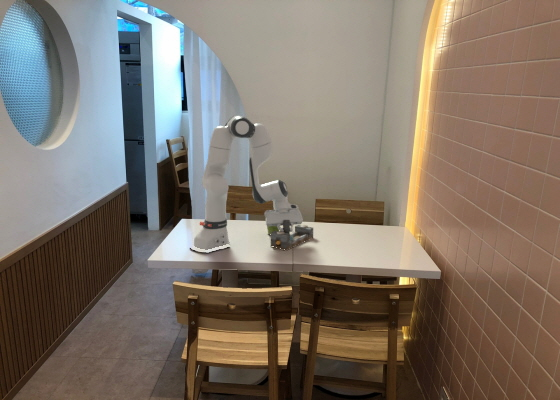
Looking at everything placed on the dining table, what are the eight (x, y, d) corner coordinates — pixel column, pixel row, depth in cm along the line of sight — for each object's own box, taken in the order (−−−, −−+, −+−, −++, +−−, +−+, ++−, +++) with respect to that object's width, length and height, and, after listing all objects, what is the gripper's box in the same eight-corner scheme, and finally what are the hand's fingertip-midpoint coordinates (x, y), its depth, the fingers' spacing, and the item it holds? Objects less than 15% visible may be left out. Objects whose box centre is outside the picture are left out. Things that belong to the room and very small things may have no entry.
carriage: (286, 244, 245) (287, 222, 242) (279, 242, 247) (279, 221, 245) (293, 241, 249) (293, 220, 246) (285, 239, 252) (285, 218, 249)
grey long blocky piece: (285, 250, 240) (286, 235, 238) (270, 246, 246) (270, 231, 244) (313, 237, 261) (313, 223, 259) (298, 234, 267) (298, 220, 265)
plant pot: (281, 236, 263) (281, 222, 261) (264, 236, 263) (264, 222, 261) (281, 232, 272) (281, 217, 270) (265, 231, 272) (265, 217, 270)
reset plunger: (279, 245, 241) (279, 241, 241) (275, 244, 242) (276, 240, 242) (284, 242, 245) (284, 239, 245) (281, 242, 246) (281, 238, 246)
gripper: (264, 207, 248) (268, 230, 241) (300, 205, 253) (305, 227, 246) (262, 213, 253) (266, 235, 246) (298, 211, 258) (303, 233, 251)
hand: (286, 231), depth 246 cm, fingers open, 4 cm apart
